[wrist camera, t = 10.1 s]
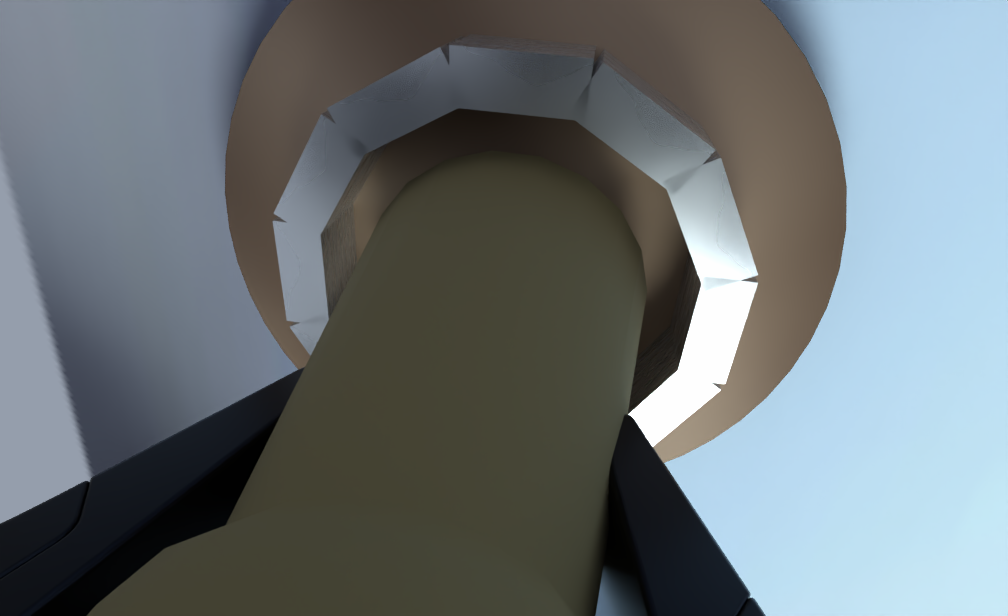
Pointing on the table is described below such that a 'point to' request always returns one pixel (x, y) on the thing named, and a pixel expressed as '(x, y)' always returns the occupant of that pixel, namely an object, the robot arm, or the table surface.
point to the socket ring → (545, 93)
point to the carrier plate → (574, 151)
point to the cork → (440, 418)
